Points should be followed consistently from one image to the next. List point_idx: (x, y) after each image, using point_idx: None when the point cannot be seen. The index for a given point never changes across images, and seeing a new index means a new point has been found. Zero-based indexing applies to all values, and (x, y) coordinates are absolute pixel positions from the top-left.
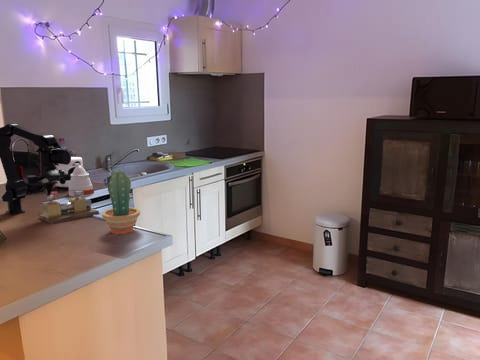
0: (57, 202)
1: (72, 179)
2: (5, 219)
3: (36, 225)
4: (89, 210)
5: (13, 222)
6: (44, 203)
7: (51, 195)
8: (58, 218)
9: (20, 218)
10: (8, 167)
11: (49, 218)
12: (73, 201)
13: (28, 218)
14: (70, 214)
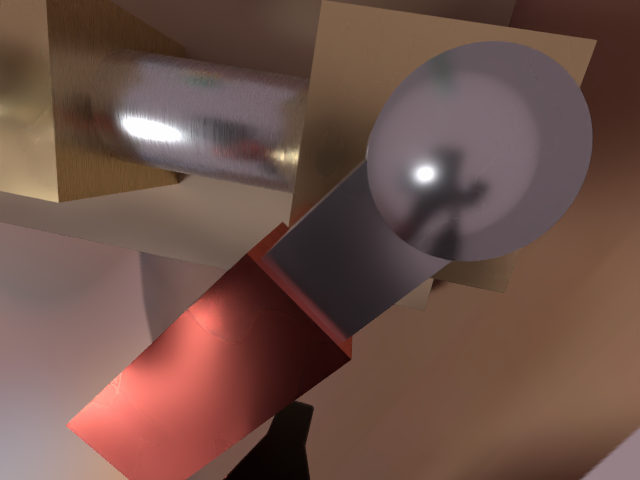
0: (313, 114)
1: None
2: (580, 472)
3: (616, 93)
4: None
5: (623, 359)
6: None
7: (438, 153)
8: (416, 2)
9: (505, 407)
10: None
11: None
12: (63, 3)
13: (473, 358)
14: (238, 48)
